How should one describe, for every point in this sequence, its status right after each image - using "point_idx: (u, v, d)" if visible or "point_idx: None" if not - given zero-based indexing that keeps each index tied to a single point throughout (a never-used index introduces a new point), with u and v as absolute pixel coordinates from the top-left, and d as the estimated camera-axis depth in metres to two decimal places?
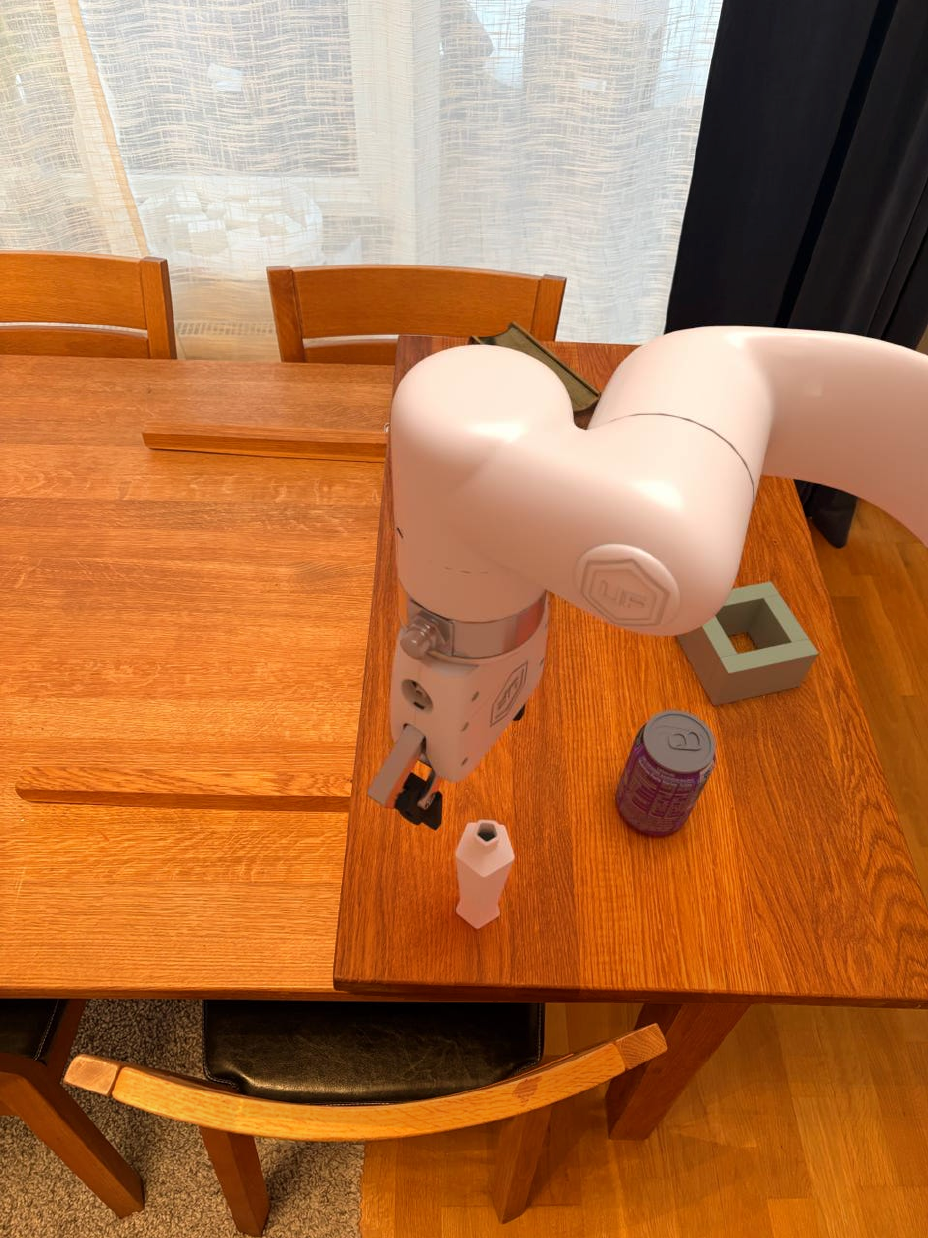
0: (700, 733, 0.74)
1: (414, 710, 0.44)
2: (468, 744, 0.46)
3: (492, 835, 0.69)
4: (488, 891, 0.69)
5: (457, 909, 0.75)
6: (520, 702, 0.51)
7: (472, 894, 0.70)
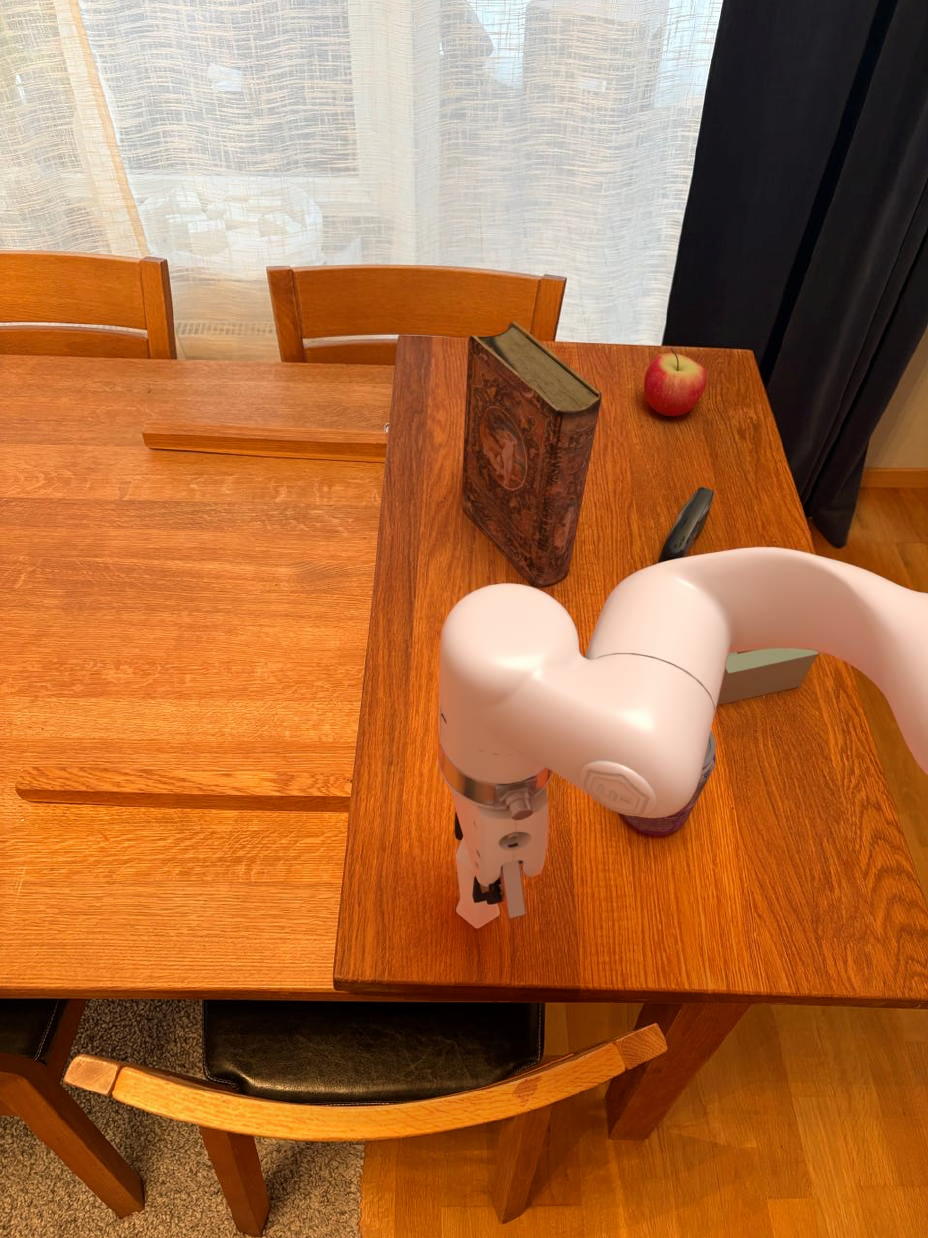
0: None
1: (512, 851, 0.55)
2: None
3: None
4: None
5: (457, 909, 0.75)
6: None
7: None
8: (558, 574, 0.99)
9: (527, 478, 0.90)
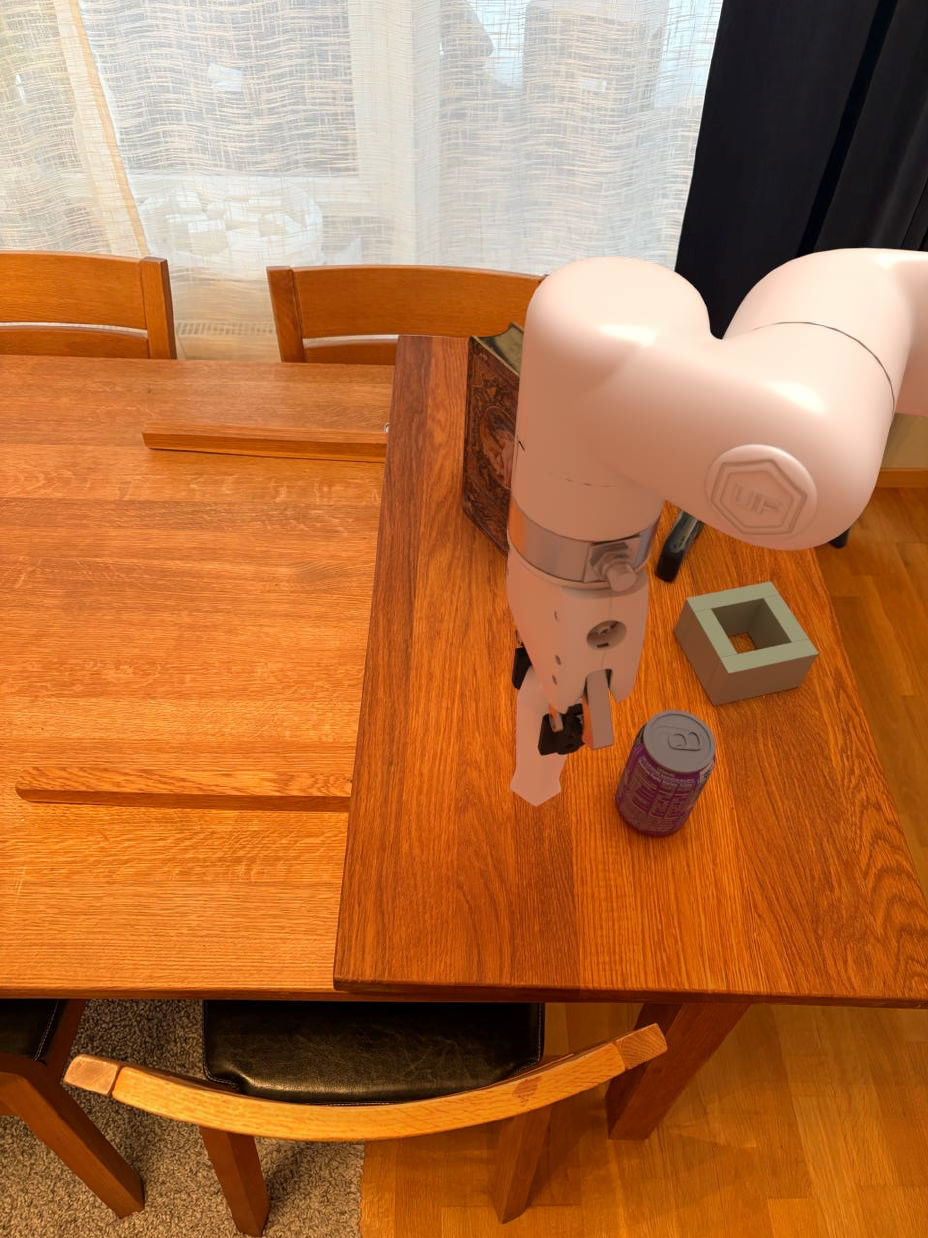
0: (700, 733, 0.74)
1: (602, 651, 0.44)
2: None
3: None
4: None
5: (511, 785, 0.64)
6: None
7: (534, 756, 0.59)
8: None
9: None
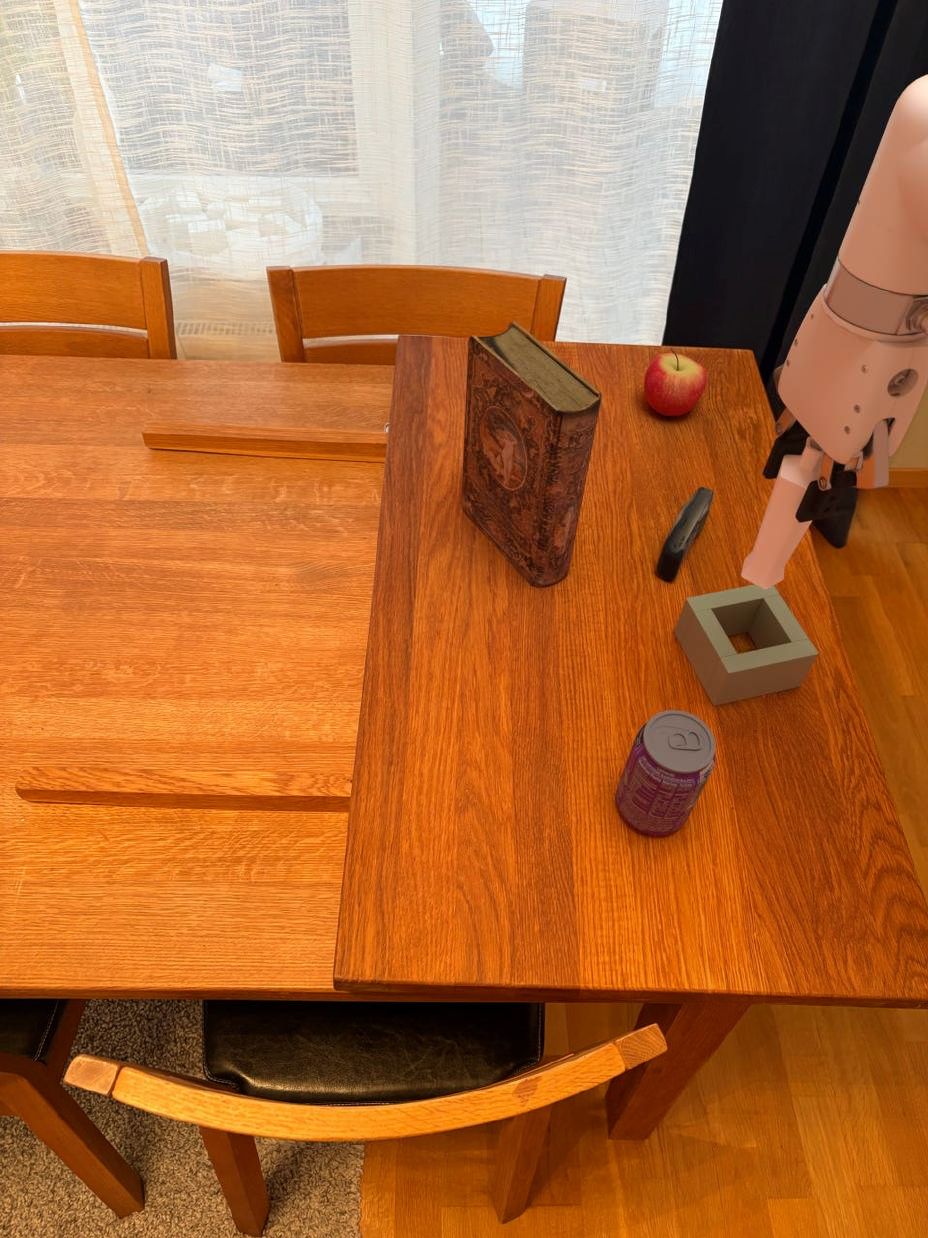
0: (700, 733, 0.74)
1: (895, 399, 0.58)
2: None
3: None
4: (800, 525, 0.71)
5: (743, 573, 0.78)
6: None
7: (779, 534, 0.72)
8: (558, 574, 0.99)
9: (527, 478, 0.90)
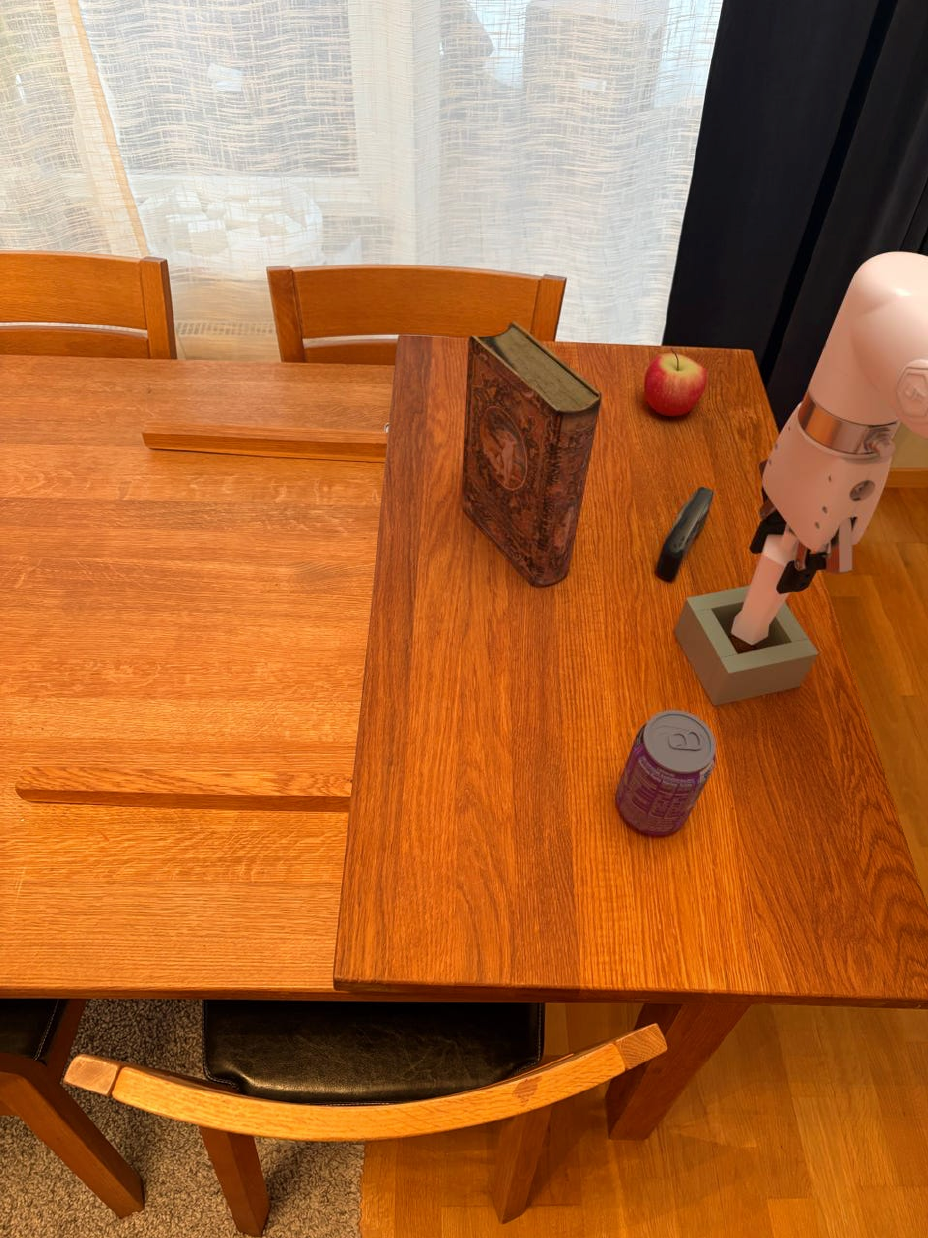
0: (700, 733, 0.74)
1: (856, 503, 0.69)
2: None
3: None
4: (781, 594, 0.83)
5: (733, 630, 0.90)
6: None
7: (763, 601, 0.84)
8: (558, 574, 0.99)
9: (527, 478, 0.90)
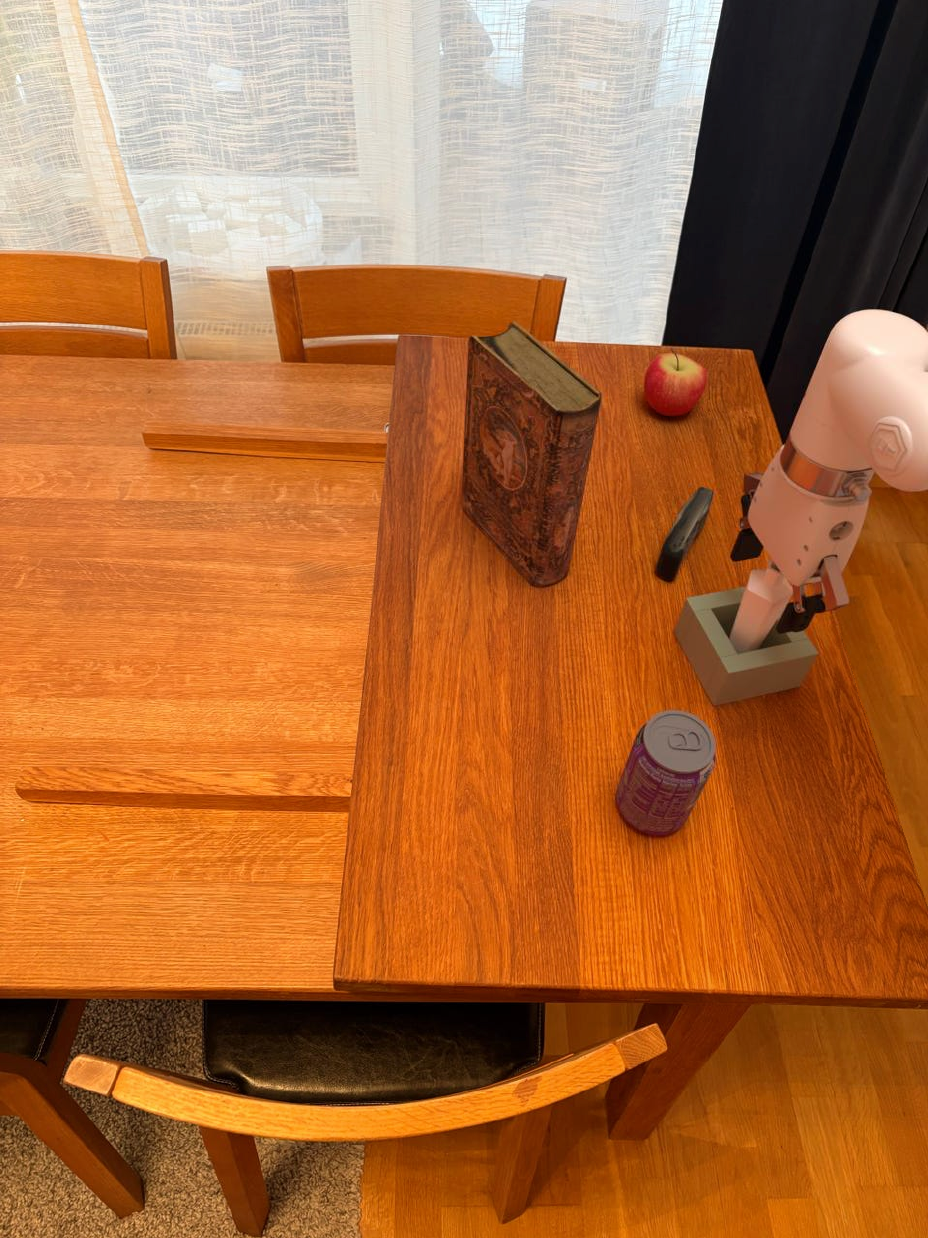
0: (700, 733, 0.74)
1: (836, 542, 0.73)
2: None
3: None
4: (764, 626, 0.87)
5: None
6: None
7: (748, 632, 0.88)
8: (558, 574, 0.99)
9: (527, 478, 0.90)
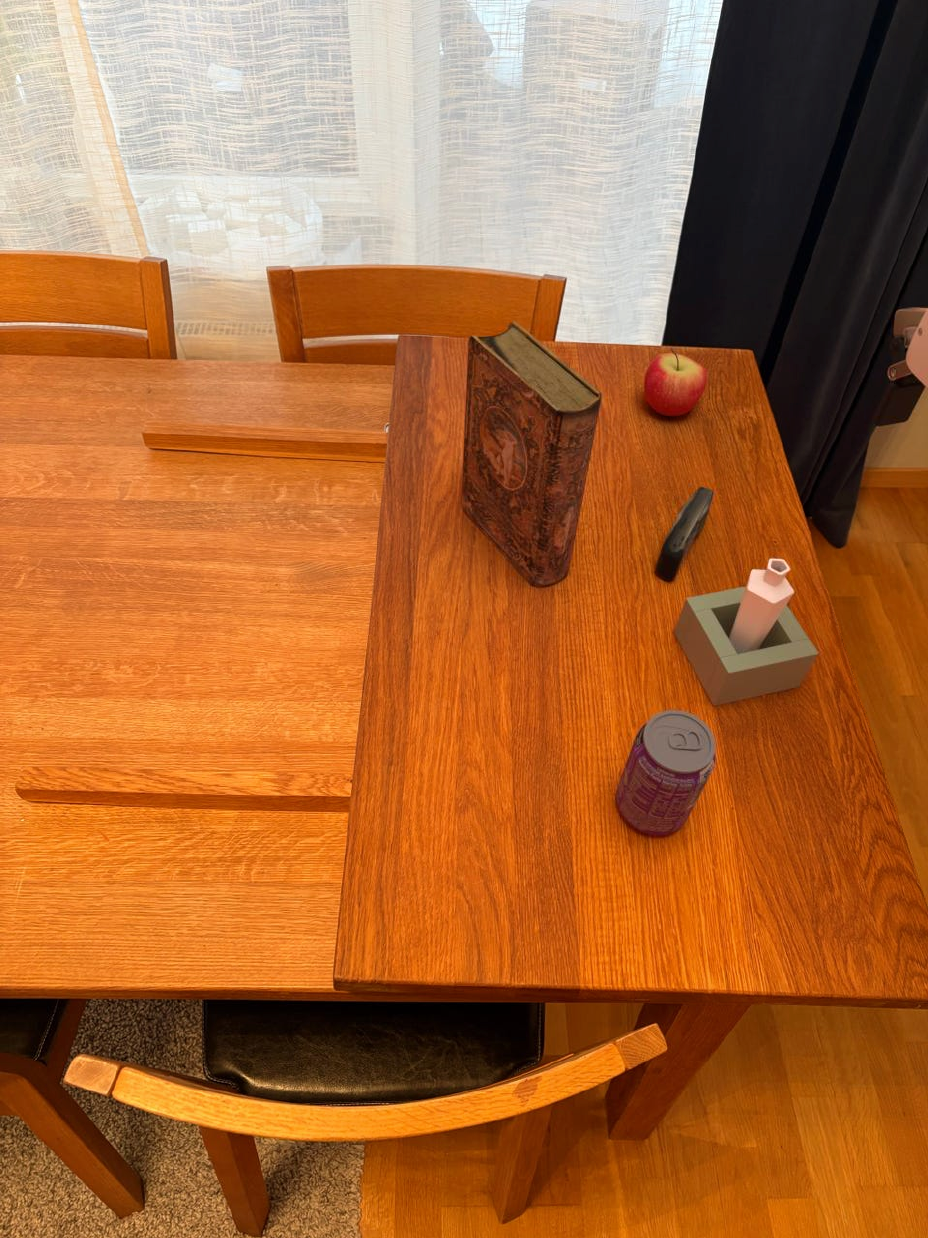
0: (700, 733, 0.74)
1: None
2: None
3: None
4: (764, 626, 0.87)
5: None
6: None
7: (748, 632, 0.88)
8: (558, 574, 0.99)
9: (527, 478, 0.90)
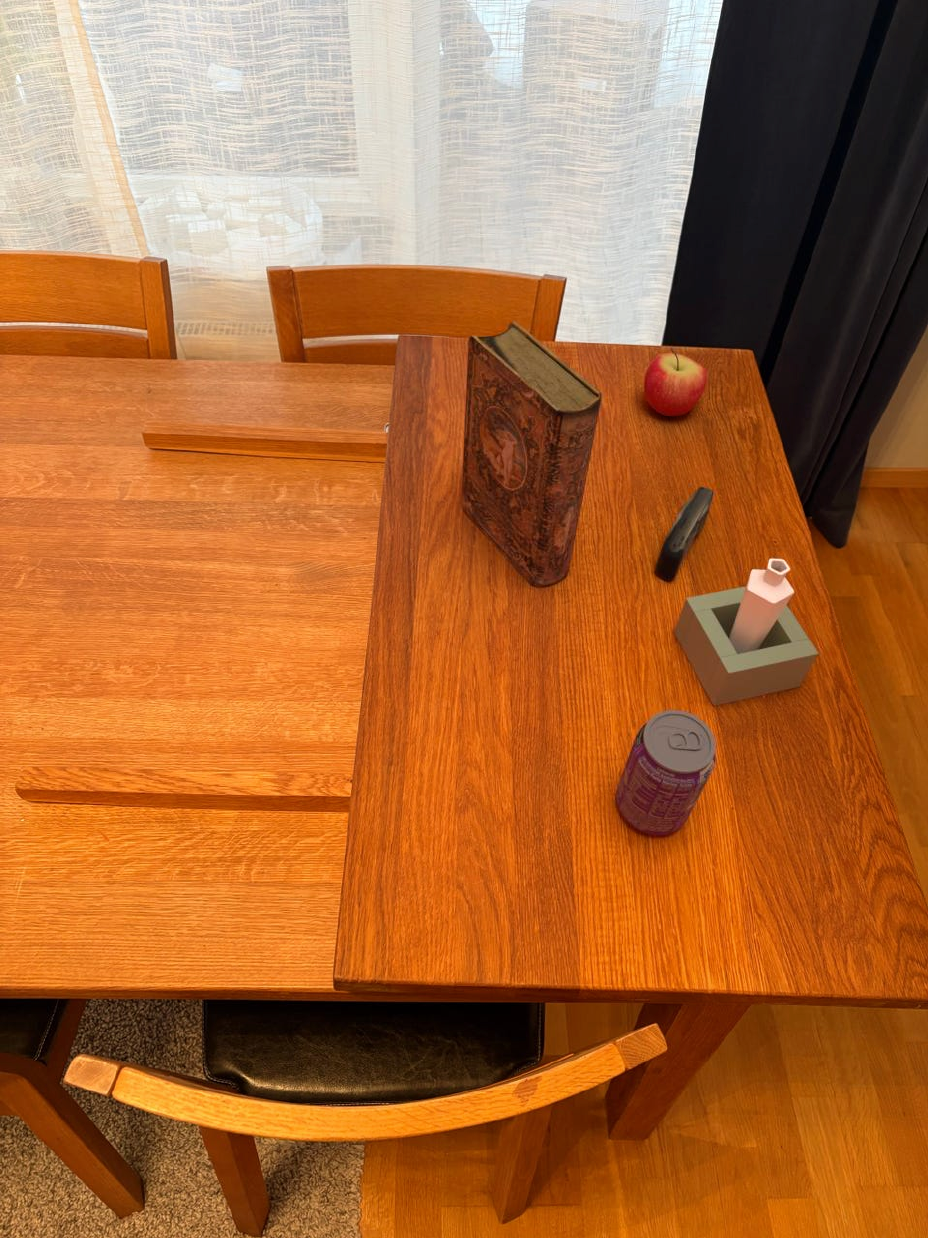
0: (700, 733, 0.74)
1: None
2: None
3: None
4: (764, 626, 0.87)
5: None
6: None
7: (748, 632, 0.88)
8: (558, 574, 0.99)
9: (527, 478, 0.90)
